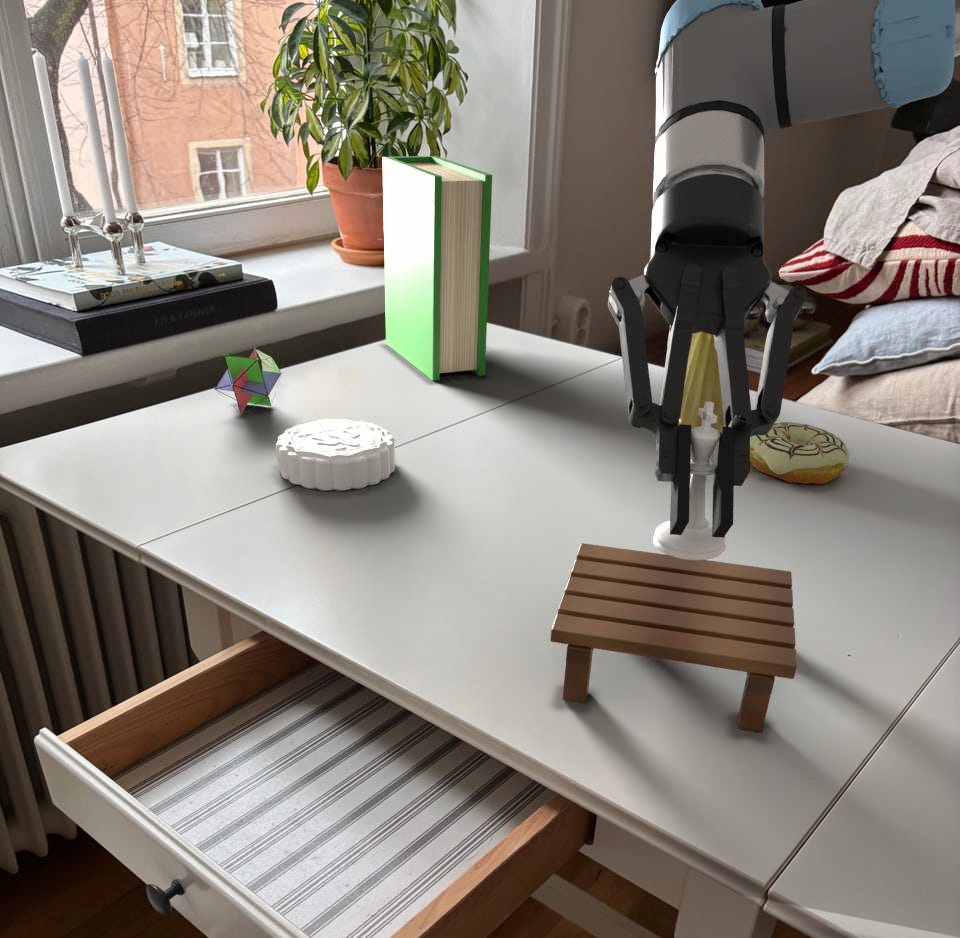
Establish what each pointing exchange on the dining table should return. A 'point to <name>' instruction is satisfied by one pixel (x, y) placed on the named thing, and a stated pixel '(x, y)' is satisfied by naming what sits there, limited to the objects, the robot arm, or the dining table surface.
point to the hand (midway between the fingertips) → (700, 528)
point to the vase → (701, 382)
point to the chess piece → (696, 499)
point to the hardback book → (436, 262)
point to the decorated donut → (799, 453)
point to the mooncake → (335, 454)
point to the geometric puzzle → (249, 379)
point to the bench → (679, 619)
